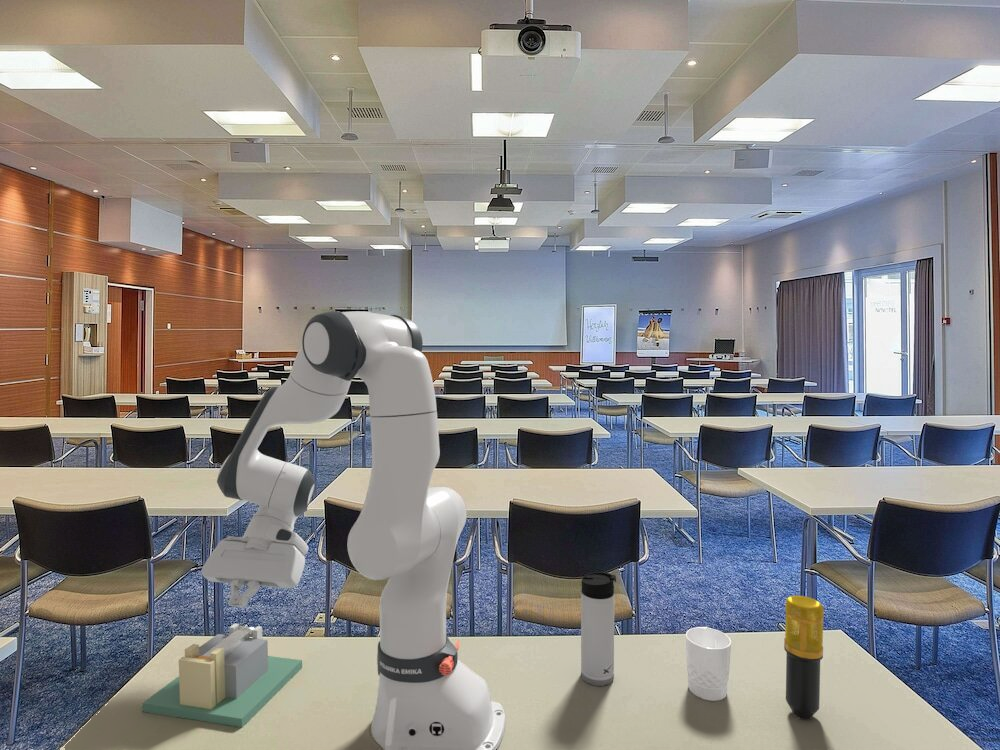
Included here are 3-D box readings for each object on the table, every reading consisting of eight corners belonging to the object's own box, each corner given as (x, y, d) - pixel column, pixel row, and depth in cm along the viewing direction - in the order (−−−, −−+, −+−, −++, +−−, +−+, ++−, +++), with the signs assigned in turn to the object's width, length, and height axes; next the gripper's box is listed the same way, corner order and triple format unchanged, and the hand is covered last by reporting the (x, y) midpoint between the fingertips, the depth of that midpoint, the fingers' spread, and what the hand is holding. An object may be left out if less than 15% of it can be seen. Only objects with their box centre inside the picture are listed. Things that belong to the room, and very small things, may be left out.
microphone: (867, 718, 95) (870, 604, 94) (798, 727, 92) (800, 610, 92) (841, 697, 100) (844, 589, 99) (775, 705, 98) (777, 595, 97)
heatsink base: (302, 667, 111) (301, 616, 110) (242, 727, 93) (240, 666, 93) (215, 656, 115) (214, 606, 114) (142, 711, 97) (140, 653, 97)
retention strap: (256, 634, 109) (256, 624, 109) (209, 671, 97) (209, 661, 97) (240, 632, 110) (240, 623, 110) (192, 669, 98) (191, 658, 98)
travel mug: (615, 688, 103) (616, 583, 102) (580, 684, 105) (580, 580, 104) (615, 669, 109) (616, 570, 109) (581, 666, 111) (582, 567, 110)
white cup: (736, 689, 103) (737, 636, 103) (720, 709, 97) (721, 654, 97) (695, 672, 108) (696, 622, 108) (677, 690, 103) (678, 638, 102)
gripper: (214, 528, 115) (180, 595, 106) (303, 534, 111) (275, 604, 102) (230, 542, 120) (198, 607, 111) (316, 548, 115) (290, 616, 106)
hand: (236, 606), depth 106 cm, fingers closed
